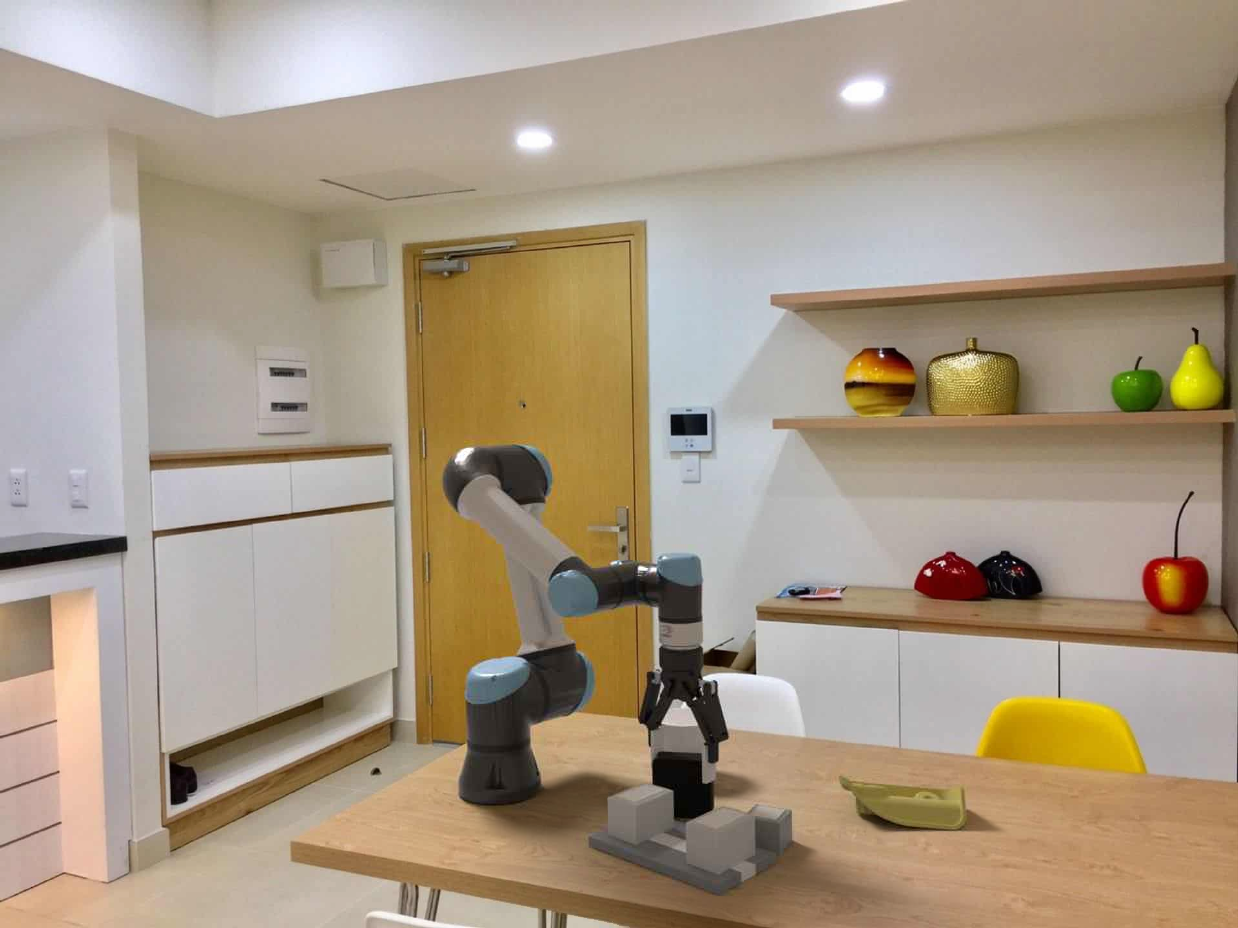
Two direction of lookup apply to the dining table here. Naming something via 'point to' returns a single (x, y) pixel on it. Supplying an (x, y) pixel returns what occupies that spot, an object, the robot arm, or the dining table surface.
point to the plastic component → (910, 804)
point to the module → (772, 827)
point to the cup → (681, 731)
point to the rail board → (682, 840)
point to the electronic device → (684, 782)
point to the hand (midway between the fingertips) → (683, 773)
